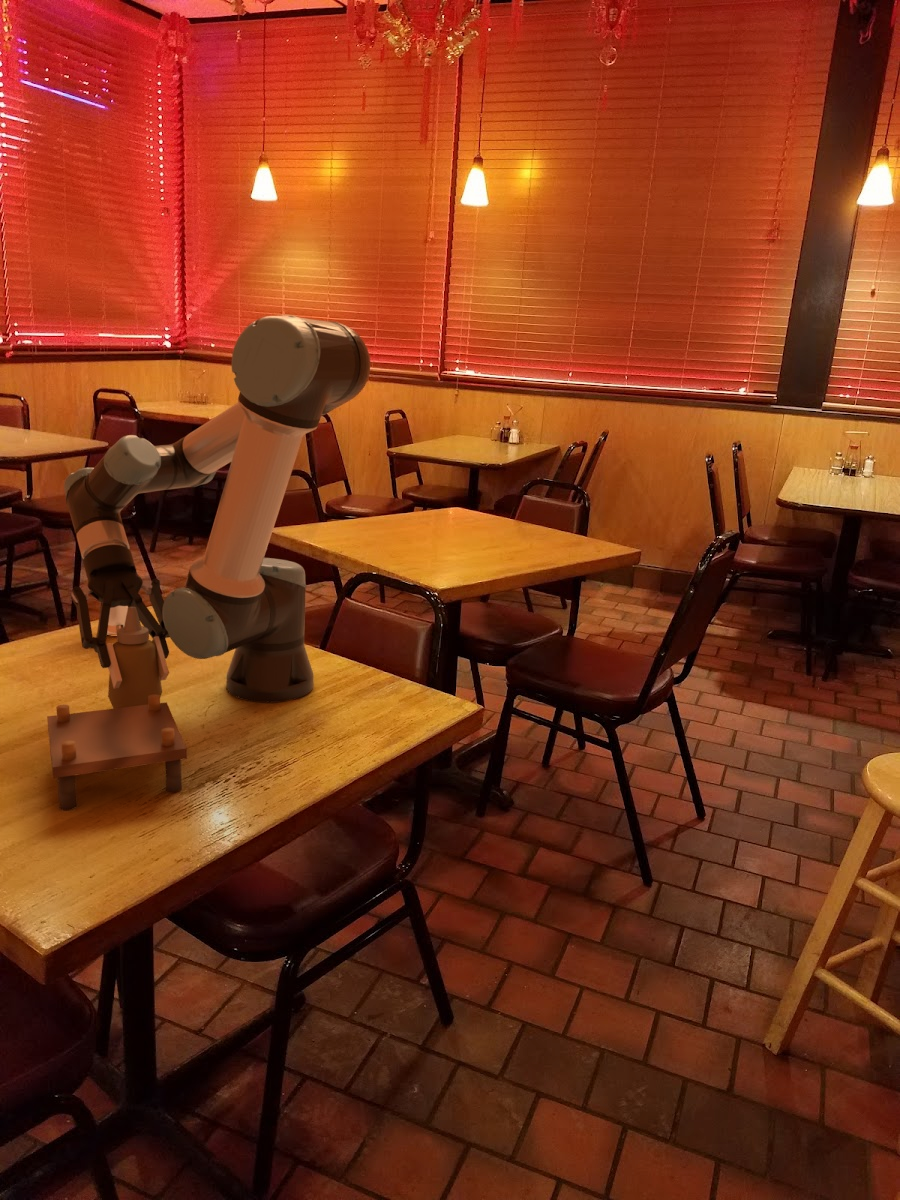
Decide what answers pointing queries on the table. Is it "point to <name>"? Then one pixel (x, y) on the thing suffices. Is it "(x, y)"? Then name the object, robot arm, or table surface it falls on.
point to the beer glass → (116, 619)
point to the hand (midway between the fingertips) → (141, 680)
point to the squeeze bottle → (134, 665)
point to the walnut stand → (113, 744)
